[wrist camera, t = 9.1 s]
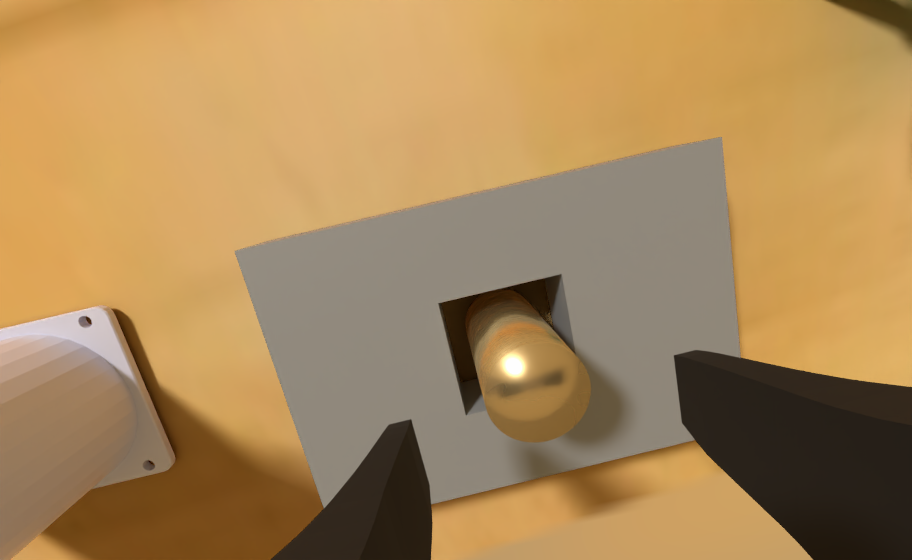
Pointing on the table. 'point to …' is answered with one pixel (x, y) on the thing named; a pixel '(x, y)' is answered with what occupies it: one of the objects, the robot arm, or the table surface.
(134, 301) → the table surface
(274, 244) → the hole plate
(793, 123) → the table surface
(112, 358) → the robot arm
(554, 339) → the brass pin
